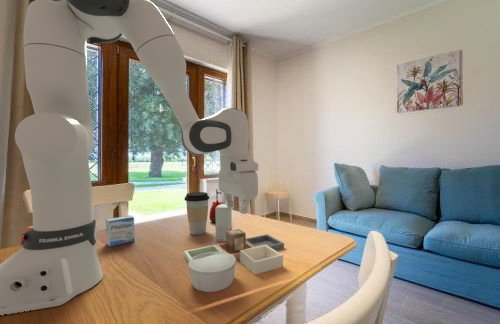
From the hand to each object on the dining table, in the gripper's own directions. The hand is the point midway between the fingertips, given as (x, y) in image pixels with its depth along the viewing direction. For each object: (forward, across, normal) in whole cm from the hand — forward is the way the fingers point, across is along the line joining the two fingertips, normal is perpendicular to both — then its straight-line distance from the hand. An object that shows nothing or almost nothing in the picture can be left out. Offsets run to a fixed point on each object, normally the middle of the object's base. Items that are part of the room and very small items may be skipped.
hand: (236, 210), depth 72 cm
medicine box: (+13, -28, -31) cm, 44 cm away
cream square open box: (+13, +10, +2) cm, 17 cm away
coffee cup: (+13, -25, -5) cm, 29 cm away
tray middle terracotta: (+13, 0, -1) cm, 13 cm away
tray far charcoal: (+13, 0, +9) cm, 16 cm away
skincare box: (+13, -13, +1) cm, 19 cm away
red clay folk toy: (+14, -35, +7) cm, 38 cm away
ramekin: (+13, +12, -12) cm, 22 cm away
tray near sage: (+13, 0, -10) cm, 16 cm away
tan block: (+13, 0, -1) cm, 13 cm away
